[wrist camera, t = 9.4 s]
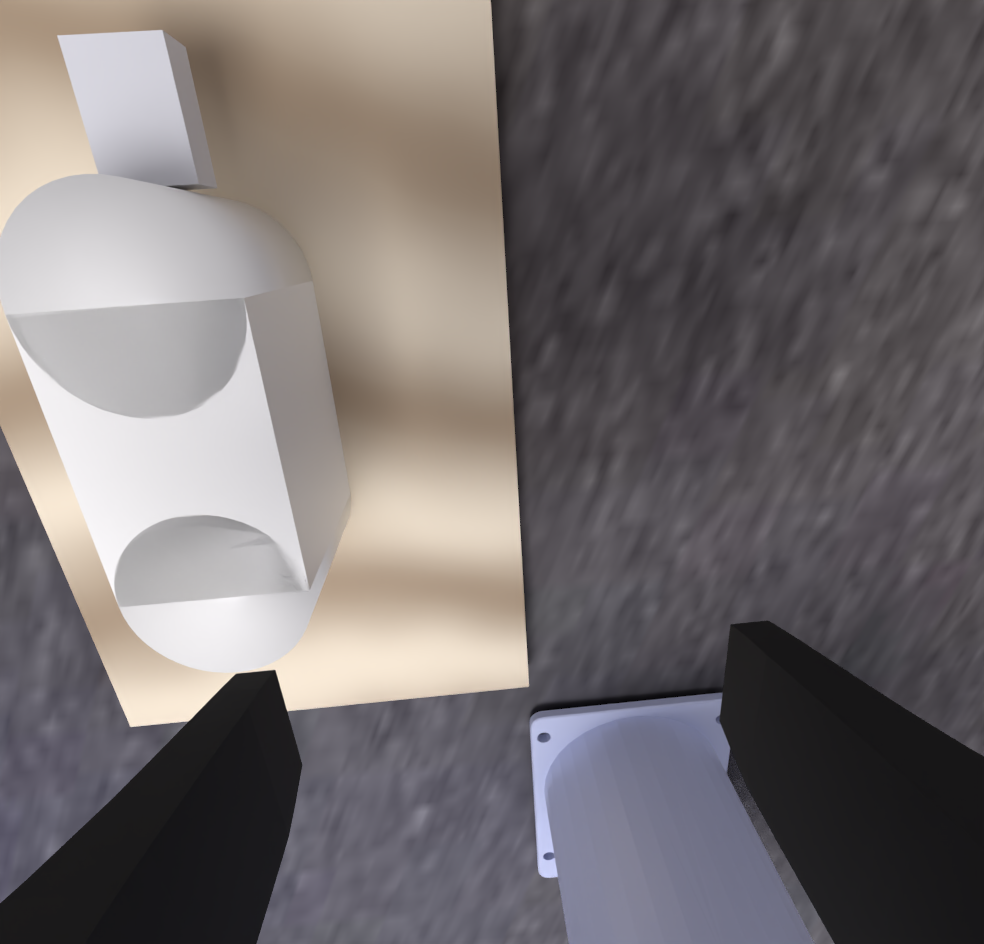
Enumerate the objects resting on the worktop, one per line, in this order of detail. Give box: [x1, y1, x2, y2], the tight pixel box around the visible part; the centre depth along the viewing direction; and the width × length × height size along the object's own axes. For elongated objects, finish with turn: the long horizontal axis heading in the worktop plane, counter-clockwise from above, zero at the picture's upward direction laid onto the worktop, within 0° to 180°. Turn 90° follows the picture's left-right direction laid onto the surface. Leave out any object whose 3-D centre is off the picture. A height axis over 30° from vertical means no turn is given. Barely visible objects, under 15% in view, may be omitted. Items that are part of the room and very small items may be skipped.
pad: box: [0, 0, 529, 727], centre depth 16 cm, size 22×14×1 cm, turn 4°
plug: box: [0, 30, 351, 673], centre depth 12 cm, size 12×4×5 cm, turn 3°
